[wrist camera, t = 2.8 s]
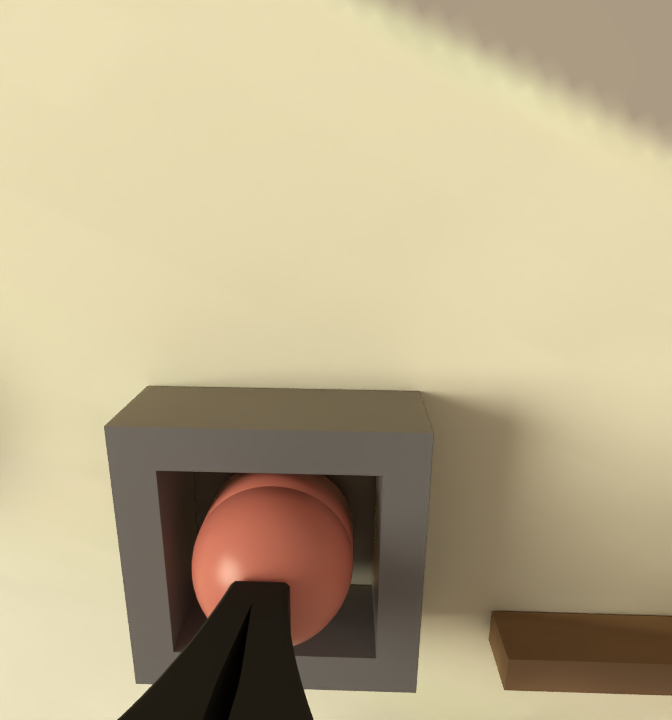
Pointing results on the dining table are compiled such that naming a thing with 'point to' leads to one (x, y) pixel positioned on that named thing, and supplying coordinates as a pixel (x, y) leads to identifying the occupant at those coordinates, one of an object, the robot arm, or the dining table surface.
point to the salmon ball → (278, 544)
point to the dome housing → (284, 456)
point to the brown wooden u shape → (583, 652)
